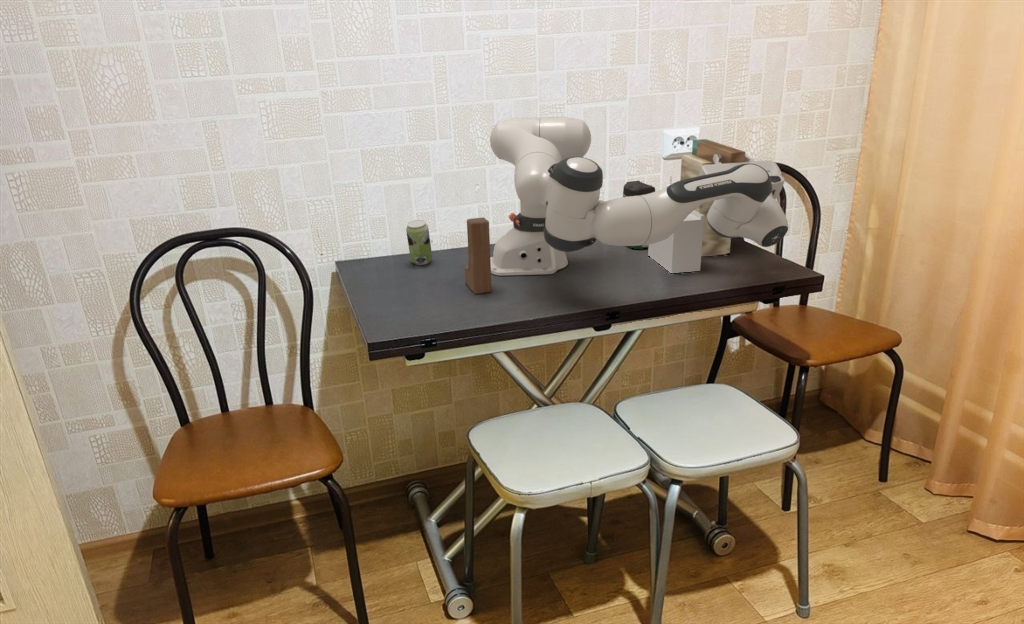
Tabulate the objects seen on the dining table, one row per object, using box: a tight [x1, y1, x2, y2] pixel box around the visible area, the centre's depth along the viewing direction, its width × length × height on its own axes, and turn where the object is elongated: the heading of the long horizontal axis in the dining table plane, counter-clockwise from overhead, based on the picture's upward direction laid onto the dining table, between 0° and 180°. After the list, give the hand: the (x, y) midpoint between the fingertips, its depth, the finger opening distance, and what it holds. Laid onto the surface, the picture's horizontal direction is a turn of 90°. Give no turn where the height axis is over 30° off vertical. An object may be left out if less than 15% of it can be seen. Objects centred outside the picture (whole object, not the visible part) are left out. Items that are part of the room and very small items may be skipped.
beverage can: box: [405, 219, 433, 266], centre depth 205 cm, size 6×7×12 cm
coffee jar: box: [622, 180, 656, 250], centre depth 215 cm, size 10×8×19 cm
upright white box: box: [647, 210, 704, 274], centre depth 199 cm, size 8×16×15 cm, turn 12°
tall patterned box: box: [679, 154, 732, 256], centre depth 208 cm, size 10×13×26 cm
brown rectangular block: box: [691, 138, 746, 164], centre depth 198 cm, size 4×22×4 cm, turn 12°
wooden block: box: [464, 217, 492, 295], centre depth 184 cm, size 9×4×18 cm, turn 18°
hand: (728, 155), depth 192 cm, fingers open, 5 cm apart
